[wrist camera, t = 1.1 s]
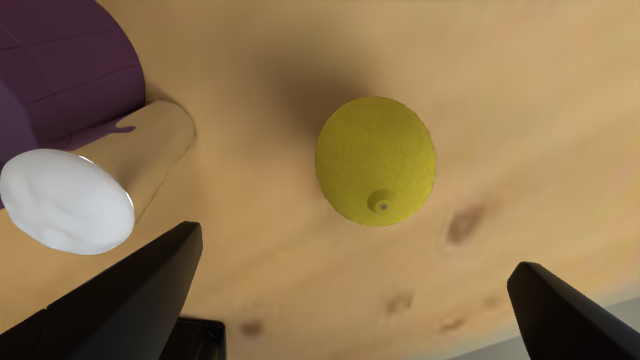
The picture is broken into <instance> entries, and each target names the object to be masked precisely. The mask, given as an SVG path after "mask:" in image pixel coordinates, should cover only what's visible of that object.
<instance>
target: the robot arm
mask: <svg viewBox="0 0 640 360" xmlns="http://www.w3.org/2000/svg"><path fill="white" fill-rule="evenodd" d="M202 249H203V241H202V231H201V225H200V224H199V223H198V222H190V221H184V222H182V223H180V224H179V225H177V226H175V227H174V228H172V229H170V230H169V231H167V232H166V233H164V234H162V235H161V236H159V237H158V238H156V239H154V240H153V241H151V242H150V243H148V244H146V245H145V246H143V247H142V248H140V249H138V250H137V251H135V252H133V253H132V254H130V255H129V256H127V257H125V258H124V259H122V260H121V261H119V262H117V263H116V264H114V265H113V266H111V267H109V268H108V269H106V270H105V271H103V272H101V273H100V274H98V275H96V276H95V277H93V278H92V279H90V280H88V281H87V282H85V283H84V284H82V285H80V286H79V287H77V288H76V289H74V290H72V291H71V292H69V293H68V294H66V295H64V296H63V297H61V298H59V299H58V300H56V301H55V302H53V303H51V304H50V305H48V306H47V308H46V309H42V310H40V311H38V312H37V313H35V314H33V315H32V316H30V317H29V318H27V319H25V320H24V321H22V322H21V323H19V324H17V325H16V326H14V327H12V328H11V329H9V330H7V331H6V332H4V333H2V334H1V335H0V360H226V359H227V353H226V331H225V325H224V324H222V323H217V322H208V321H199V320H191V319H182V318H178V316H179V314H180V312H181V310H182V307H183V305H184V303H185V300H186V297H187V294H188V292H189V289H190V286H191V283H192V280H193V277H194V274H195V271H196V268H197V265H198V262H199V260H200V257H201V254H202ZM507 290H508V293H509V297H510V300H511V303H512V306H513V310H514V313H515V316H516V319H517V323H518V326H519V329H520V332H521V335H522V338H523V341H524V344H525V347H526V349H527V352H528V354H529V357H530V359H531V360H640V333H638V332H637V331H635V330H634V329H632V328H631V327H629V326H628V325H627V324H625V323H624V322H622V321H621V320H619V319H618V318H616V317H615V316H614V315H612V314H611V313H609V312H608V311H606V310H605V309H603V308H602V307H601V306H599V305H598V304H596V303H595V302H593V301H592V300H590V299H589V298H588V297H586V296H585V295H583V294H582V293H580V292H579V291H577V290H576V289H574V288H573V287H572V286H570V285H569V284H567V283H566V282H564V281H563V280H561V279H560V278H559V277H557V276H556V275H554V274H553V273H551V272H550V271H548V270H547V269H545V268H544V267H543V266H541V265H540V264H538V263H534V262H525V261H523V262H520V263H519V264H518V265H517V267H516V268H515V270H514V271H513V273H512V274H511V276H510V277H509V279H508V281H507Z"/></svg>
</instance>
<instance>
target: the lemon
mask: <svg viewBox="0 0 640 360" xmlns="http://www.w3.org/2000/svg"><path fill="white" fill-rule="evenodd" d="M315 166H316V175H317V179H318V181H319V184H320V186H321V189H322V191H323V194H324V196H325V197H326V199H327V200H328V201H329V203H330V204H331V205H332V206H333V208H334V209H335V210H336V211H337V212H339V213H340V214H341V215H343V216H344V217H345V218H347V219H349V220H351V221H353V222H355V223H358V224H362V225H367V226H386V225H391V224H395V223H397V222H400V221H402V220H405V219H406V218H408V217H409V216H411V215H412V214H414V213H415V212H416V211H417V210H418V209H419V208H420V207H421V206H422V205H423V204H424V202H425V201H426V199H427V198H428V196H429V194H430V192H431V190H432V187H433V183H434V179H435V176H436V155H435V149H434V146H433V143H432V140H431V137H430V134H429V131H428V130H427V128H426V127H425V125H424V124H423V123H422V121H421V120H420V118H419V117H418V116H417V115H416V114H415V113H414V112H413V111H411V110H410V109H409V108H407V107H406V106H405V105H404V104H402V103H399V102H397V101H394V100H392V99H389V98H384V97H375V96H371V97H363V98H358V99H356V100H353V101H350V102H348V103H346V104H345V105H343V106H342V107H340V108H339V109H338V110H336V111H335V112H334V113H333V114H332V115H331V116H330V118H329V119H328V120H327V121H326V122H325V124H324V126H323V128H322V130H321V132H320V134H319V136H318V139H317V145H316V151H315Z"/></svg>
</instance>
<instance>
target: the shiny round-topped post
mask: <svg viewBox="0 0 640 360" xmlns="http://www.w3.org/2000/svg"><path fill="white" fill-rule="evenodd" d="M194 137H195V131H194V125H193V120H192V119H191V117H190V116H189V115H188V114H187V113H186V112H185V111H184V110H183V109H182V107H181V106H180V105H177V104H174V103H171V102H168V101H165V100H163V99H161V100H157V101H154V102H150V103H147V104H144V105H141V106H139V107H137V108H135V109H132V110H130V111H128V112H125V113H123V114H121V115H118V116H116V117H114V118H111V119H109V120H107V121H105V122H102V123H100V124H98V125H95V126H93V127H91V128H88V129H86V130H82V131H79V132H77V133H74V134H71V135H69V136H66V137H63V138H61V139H58V140H56V141H53V142H50V143H48V144H45V145H43V146H40V147H37V148H35V149H32V150H30V151H27V152H25V153H22V154H20V155H17V156H16V157H14V158H12V159H11V160H9V161H8V162H7V163H6V164H5V165H4V167H3V169H2V172H1V176H0V195H1V199H2V202H3V204H4V206H5V208H6V210H7V212H8V214H9V216H10V218H11V220H12V222H13V223H14V224H15V225H16V226H17V227H18V228H19V229H21V230H22V231H23V232H25V233H26V234H28V235H29V236H30V237H32V238H34V239H35V240H37V241H39V242H40V243H42V244H43V245H45V246H47V247H49V248H52V249H56V250H61V251H66V252H71V253H75V254H83V255H94V254H100V253H104V252H107V251H109V250H111V249H113V248H115V247H116V246H118V245H119V244H121V243H122V242H124V241H125V240H126V239H127V238H128V237H129V235H130V234H131V232H132V231H133V229H134V228H135V226H136V225H137V223H138V221H139V220H140V218H141V217H142V215H143V214H144V212H145V211H146V209H147V208H148V206H149V204H150V203H151V201H152V200H153V198H154V197H155V195H156V193H157V191H158V189H159V188H160V186H161V185H162V183H163V182H164V181H165V179H166V178H167V176H168V175H169V174H170V172H171V171H172V169H173V168H174V167H175V165H176V164H177V163H178V161H179V160H180V158H181V157H182V156H183V154H184V153H185V151H186V150H187V149H188V147H189V145H190V144H191V142H192V141H193V139H194Z"/></svg>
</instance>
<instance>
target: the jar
mask: <svg viewBox="0 0 640 360" xmlns="http://www.w3.org/2000/svg"><path fill="white" fill-rule="evenodd" d="M144 98H145V84H144V76H143V72H142V68H141V65H140V62H139V59H138V56H137V54H136V52H135V50H134V48H133V46H132V44H131V43H130V41H129V39H128V38H127V36H126V34H125V33H124V32H123V30H122V29H121V28H120V26H119V25H118V24H117V22H116V21H115V20H114V19H113V18H112V17H111V16H110V15H109V13H107V12H106V11H105V10H104V9H103V8H102V7H101V6H100V5H99V4H98V3H96V2H95V1H94V0H0V176H1V172H2V169H3V167H4V165H5V164H6V163H7V162H8V161H9V160H11V159H12V158H14V157H16V156H17V155H20V154H22V153H25V152H27V151H30V150H32V149H35V148H37V147H40V146H43V145H45V144H48V143H50V142H53V141H56V140H58V139H61V138H63V137H66V136H69V135H71V134H74V133H77V132H79V131H82V130H86V129H88V128H91V127H93V126H95V125H98V124H100V123H102V122H105V121H107V120H109V119H111V118H114V117H116V116H118V115H121V114H123V113H125V112H128V111H130V110H132V109H135V108H137V107H139V106H141V105H143V103H144ZM3 208H5V206H4V204H3V202H2V199H1V195H0V209H3Z"/></svg>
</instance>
